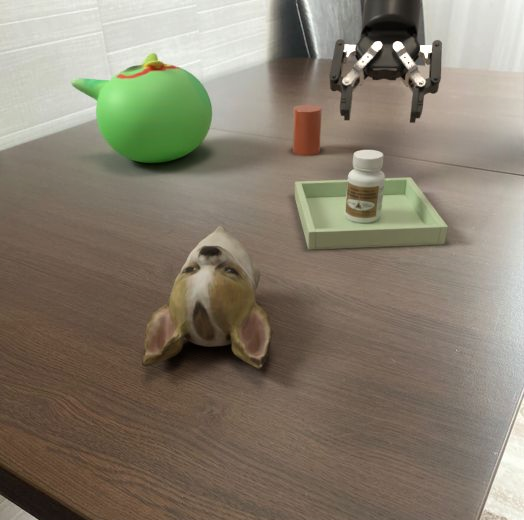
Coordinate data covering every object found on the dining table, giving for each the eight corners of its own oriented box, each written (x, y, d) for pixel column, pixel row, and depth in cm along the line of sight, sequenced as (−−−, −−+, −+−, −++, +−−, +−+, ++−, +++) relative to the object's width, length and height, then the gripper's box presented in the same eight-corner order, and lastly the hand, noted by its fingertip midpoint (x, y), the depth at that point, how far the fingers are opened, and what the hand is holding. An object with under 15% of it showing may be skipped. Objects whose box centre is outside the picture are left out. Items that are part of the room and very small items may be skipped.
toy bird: (147, 186, 80) (130, 74, 71) (82, 161, 89) (60, 60, 80) (234, 155, 90) (230, 54, 81) (168, 136, 99) (157, 44, 91)
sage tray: (408, 195, 75) (411, 177, 74) (444, 247, 63) (448, 226, 61) (294, 199, 75) (294, 181, 73) (308, 252, 63) (308, 231, 61)
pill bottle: (340, 221, 68) (345, 157, 63) (349, 207, 71) (354, 146, 66) (376, 226, 67) (383, 161, 62) (383, 212, 70) (391, 150, 65)
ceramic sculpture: (277, 209, 50) (267, 306, 39) (279, 288, 56) (270, 394, 44) (162, 209, 51) (119, 304, 40) (175, 287, 57) (140, 390, 45)
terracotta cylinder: (317, 148, 92) (319, 104, 88) (321, 157, 89) (323, 111, 84) (291, 149, 92) (292, 105, 88) (294, 158, 89) (294, 112, 84)
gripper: (338, -16, 72) (323, 100, 70) (451, -17, 69) (440, 103, 67) (339, 26, 79) (326, 131, 77) (442, 26, 77) (431, 135, 75)
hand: (379, 118), depth 72 cm, fingers open, 8 cm apart
